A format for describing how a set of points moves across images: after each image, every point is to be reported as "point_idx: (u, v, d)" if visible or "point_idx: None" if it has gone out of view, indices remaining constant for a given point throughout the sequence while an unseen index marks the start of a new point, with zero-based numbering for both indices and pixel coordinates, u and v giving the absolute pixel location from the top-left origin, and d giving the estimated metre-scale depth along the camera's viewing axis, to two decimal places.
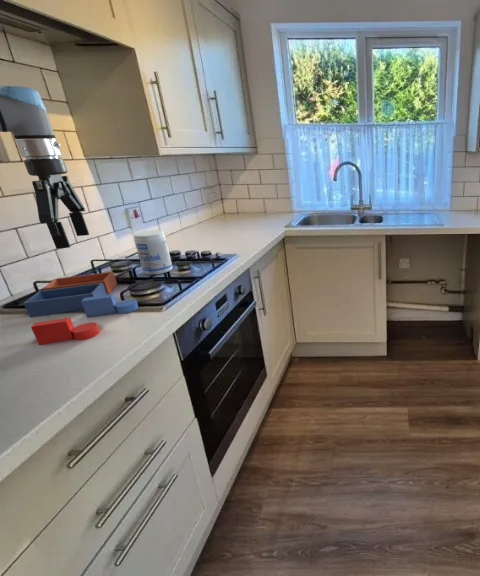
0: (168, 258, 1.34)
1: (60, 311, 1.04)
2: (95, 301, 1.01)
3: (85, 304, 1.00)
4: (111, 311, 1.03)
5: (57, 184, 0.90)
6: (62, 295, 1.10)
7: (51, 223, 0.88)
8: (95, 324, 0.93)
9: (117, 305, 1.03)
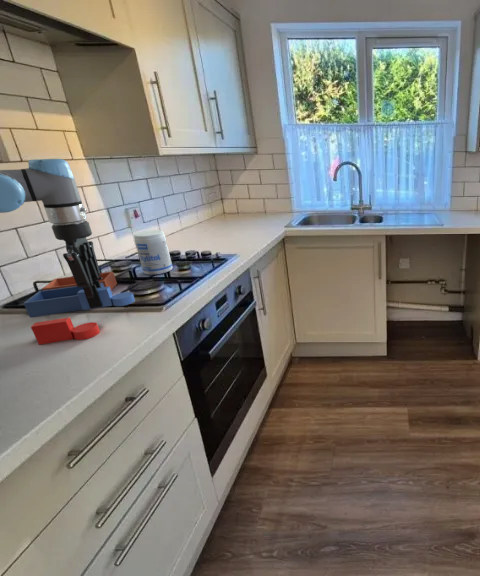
0: (168, 258, 1.34)
1: (60, 311, 1.04)
2: None
3: (81, 296, 0.99)
4: (107, 304, 1.02)
5: (82, 246, 0.94)
6: (62, 295, 1.10)
7: (87, 287, 0.97)
8: (95, 324, 0.93)
9: (113, 298, 1.02)
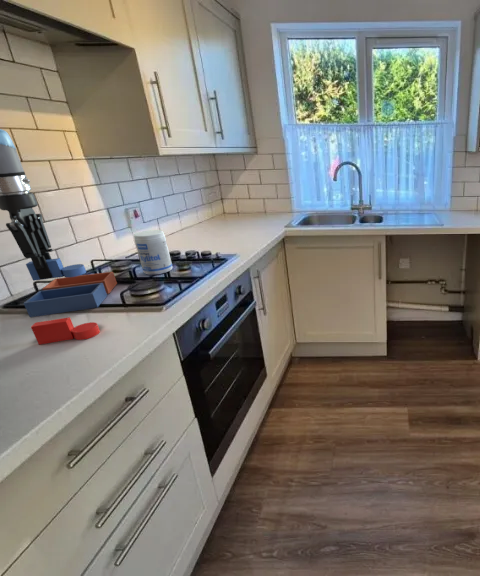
0: (168, 258, 1.34)
1: (60, 311, 1.04)
2: None
3: (30, 267, 1.01)
4: (57, 275, 1.04)
5: (27, 217, 0.96)
6: (62, 295, 1.10)
7: (34, 257, 0.99)
8: (95, 324, 0.93)
9: (63, 269, 1.04)
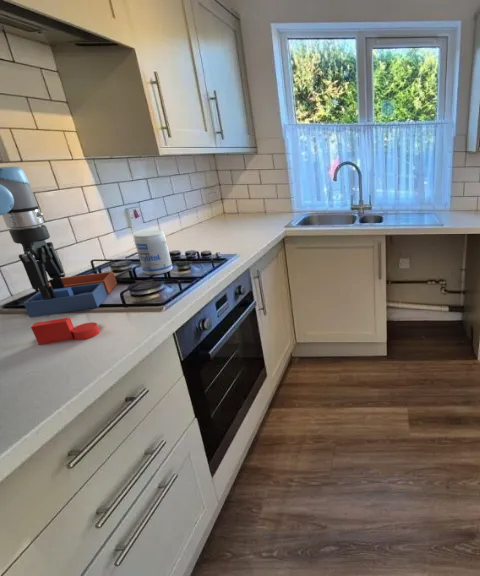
0: (168, 258, 1.34)
1: (60, 311, 1.04)
2: None
3: None
4: None
5: (40, 249, 0.99)
6: None
7: (43, 288, 1.00)
8: (95, 324, 0.93)
9: None
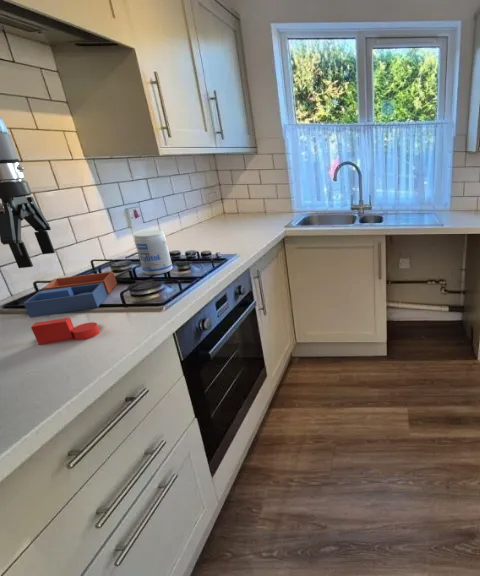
0: (168, 258, 1.34)
1: (60, 311, 1.04)
2: (52, 294, 1.05)
3: (42, 296, 1.04)
4: None
5: (20, 206, 0.94)
6: None
7: (13, 244, 0.91)
8: (95, 324, 0.93)
9: None
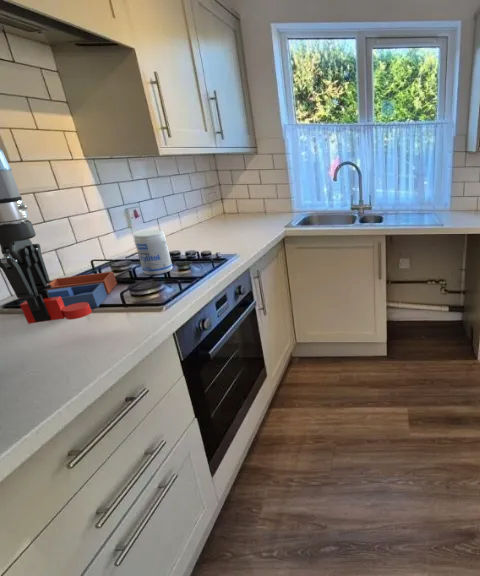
0: (168, 258, 1.34)
1: None
2: (52, 294, 1.05)
3: None
4: None
5: (23, 250, 0.80)
6: None
7: (30, 298, 0.82)
8: (87, 304, 0.90)
9: None
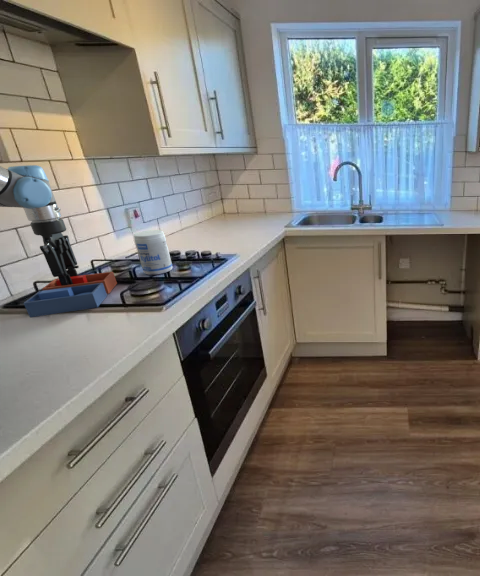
0: (168, 258, 1.34)
1: (60, 311, 1.04)
2: (52, 294, 1.05)
3: (42, 296, 1.04)
4: None
5: (58, 241, 1.09)
6: None
7: (61, 276, 1.11)
8: None
9: None
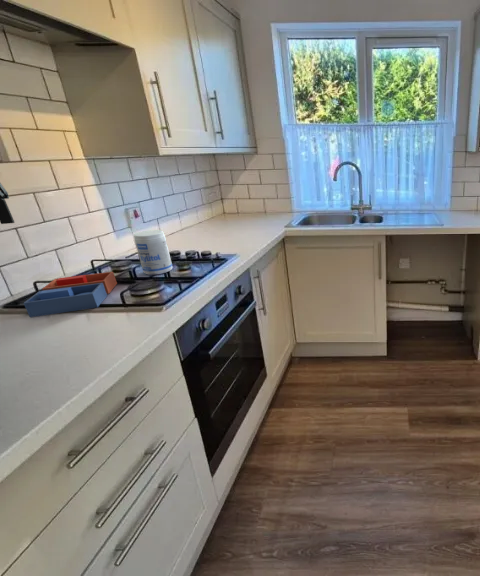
0: (168, 258, 1.34)
1: (60, 311, 1.04)
2: (52, 294, 1.05)
3: (42, 296, 1.04)
4: None
5: None
6: None
7: None
8: None
9: None
